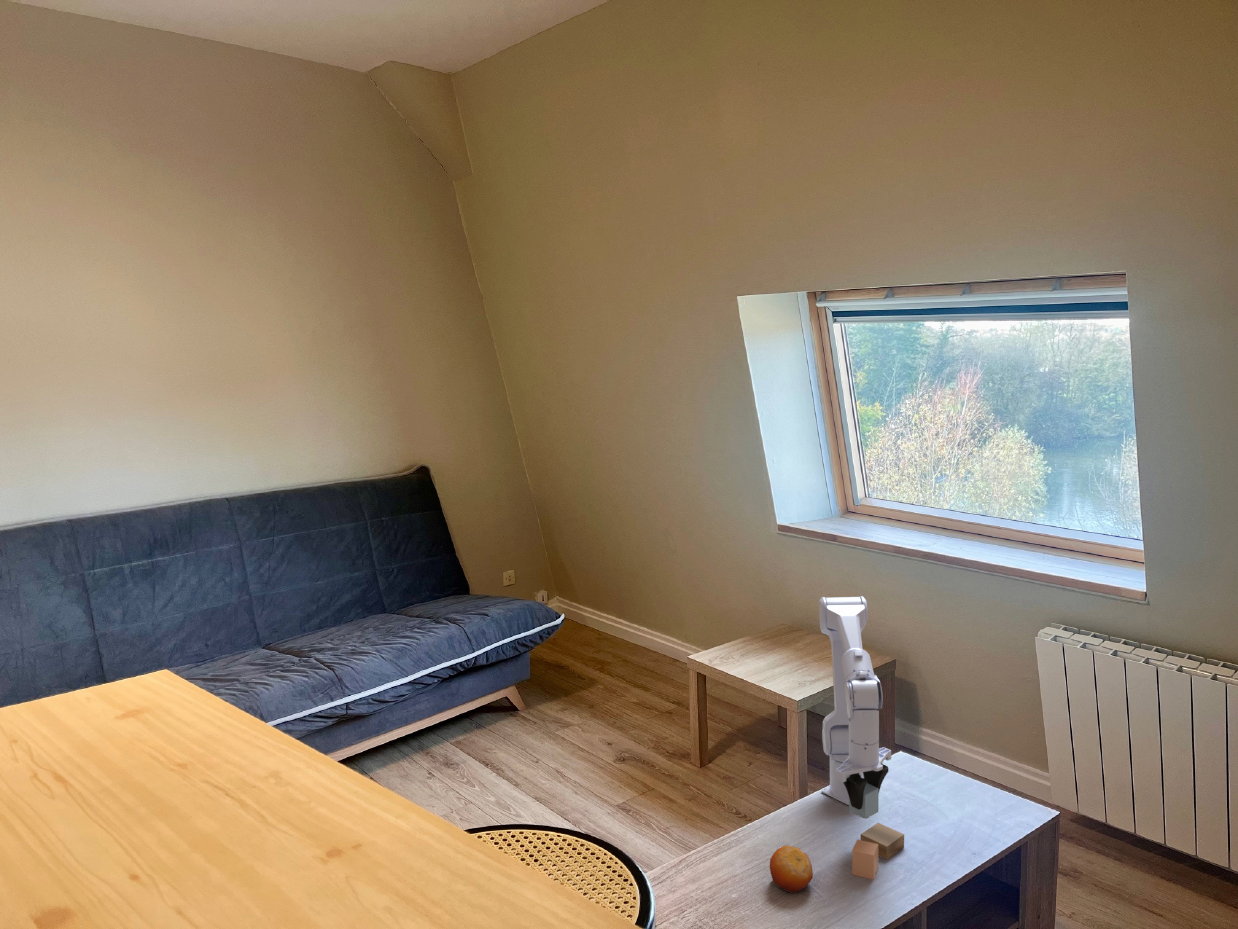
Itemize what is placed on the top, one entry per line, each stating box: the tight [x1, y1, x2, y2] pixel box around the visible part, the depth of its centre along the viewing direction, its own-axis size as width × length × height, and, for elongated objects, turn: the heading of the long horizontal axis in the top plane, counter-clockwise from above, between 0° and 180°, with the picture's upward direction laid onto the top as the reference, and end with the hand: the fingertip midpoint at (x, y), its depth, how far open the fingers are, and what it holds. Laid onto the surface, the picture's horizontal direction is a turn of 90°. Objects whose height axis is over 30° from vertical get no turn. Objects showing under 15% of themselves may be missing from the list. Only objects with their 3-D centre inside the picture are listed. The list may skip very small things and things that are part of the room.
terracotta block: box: [851, 839, 879, 881], centre depth 174 cm, size 4×4×5 cm
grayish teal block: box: [848, 783, 879, 820], centre depth 181 cm, size 4×4×5 cm
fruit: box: [769, 845, 814, 894], centre depth 171 cm, size 8×8×8 cm
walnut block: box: [860, 822, 905, 860], centre depth 182 cm, size 6×6×3 cm
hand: (863, 803), depth 181 cm, fingers closed on grayish teal block, 4 cm apart
